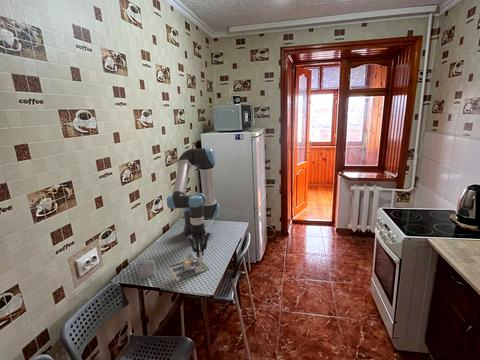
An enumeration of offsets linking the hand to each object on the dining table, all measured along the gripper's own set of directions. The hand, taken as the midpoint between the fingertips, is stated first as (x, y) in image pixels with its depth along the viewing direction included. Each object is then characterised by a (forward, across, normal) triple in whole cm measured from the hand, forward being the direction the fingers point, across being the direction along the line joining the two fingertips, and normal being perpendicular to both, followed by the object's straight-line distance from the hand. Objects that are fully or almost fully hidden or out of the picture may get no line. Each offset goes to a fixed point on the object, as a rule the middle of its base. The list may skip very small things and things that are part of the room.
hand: (200, 261), depth 150 cm
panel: (+4, -6, 0) cm, 7 cm away
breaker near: (+2, -4, -6) cm, 7 cm away
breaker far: (+2, -4, +6) cm, 8 cm away
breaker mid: (+2, -8, 0) cm, 8 cm away
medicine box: (+4, -28, +8) cm, 29 cm away
